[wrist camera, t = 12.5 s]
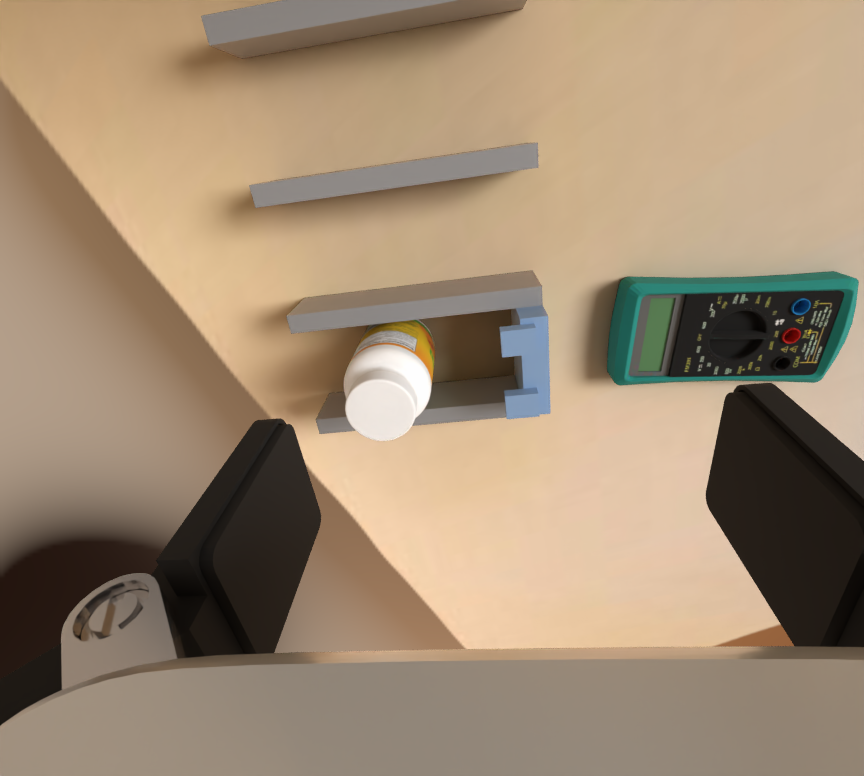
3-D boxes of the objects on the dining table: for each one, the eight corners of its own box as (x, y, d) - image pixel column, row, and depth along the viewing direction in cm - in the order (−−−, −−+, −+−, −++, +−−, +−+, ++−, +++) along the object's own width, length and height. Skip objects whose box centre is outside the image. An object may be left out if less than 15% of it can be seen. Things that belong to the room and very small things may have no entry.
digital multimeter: (807, 369, 35) (836, 387, 32) (601, 372, 36) (613, 390, 33) (843, 268, 31) (878, 279, 29) (615, 274, 32) (629, 285, 30)
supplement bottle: (427, 385, 36) (418, 460, 28) (358, 370, 36) (327, 441, 27) (442, 319, 34) (438, 379, 25) (368, 303, 34) (338, 358, 25)
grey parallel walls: (235, 33, 27) (170, 0, 21) (521, -20, 25) (541, -73, 19) (332, 406, 38) (308, 456, 31) (537, 387, 36) (553, 436, 30)
